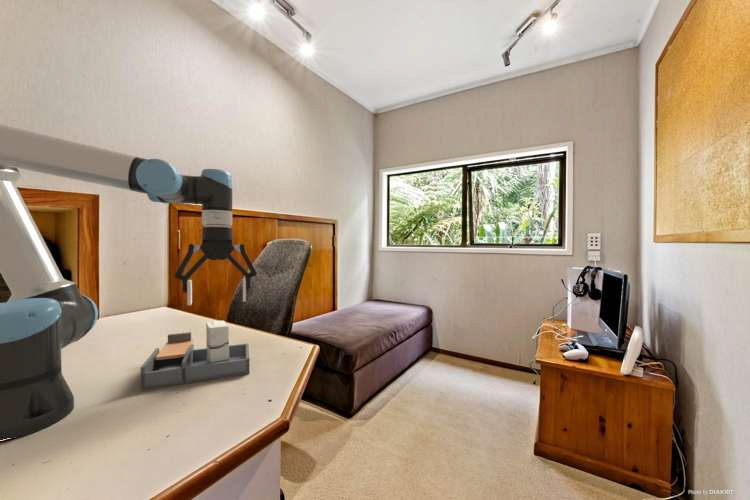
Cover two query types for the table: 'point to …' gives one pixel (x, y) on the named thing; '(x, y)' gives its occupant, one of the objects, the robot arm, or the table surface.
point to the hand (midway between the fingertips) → (217, 302)
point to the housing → (193, 367)
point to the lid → (175, 346)
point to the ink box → (217, 341)
